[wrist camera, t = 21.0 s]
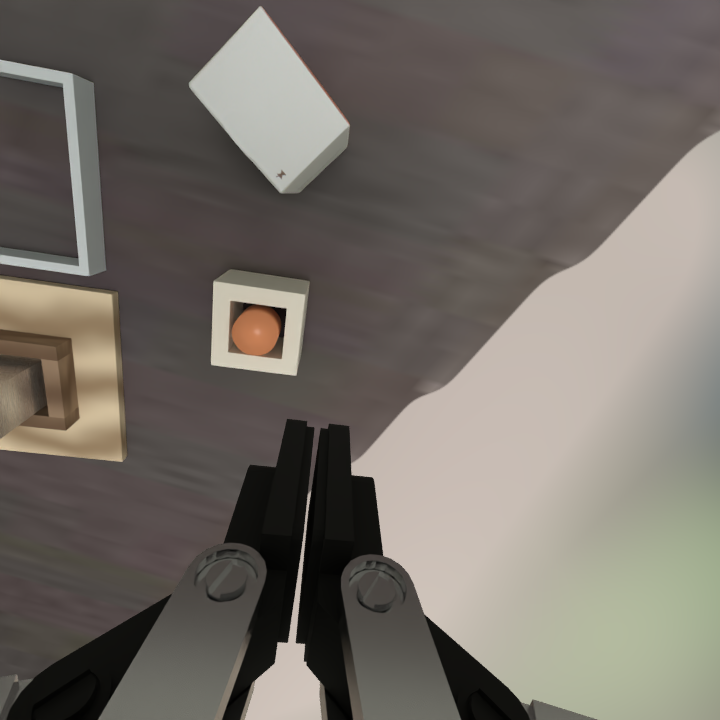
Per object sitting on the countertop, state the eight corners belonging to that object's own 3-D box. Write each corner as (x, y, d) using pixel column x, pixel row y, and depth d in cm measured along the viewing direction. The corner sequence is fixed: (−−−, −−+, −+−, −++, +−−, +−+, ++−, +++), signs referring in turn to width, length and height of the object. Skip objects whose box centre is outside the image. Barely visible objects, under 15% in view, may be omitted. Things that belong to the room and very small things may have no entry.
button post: (230, 269, 41) (213, 281, 36) (309, 281, 42) (305, 294, 37) (226, 343, 44) (211, 364, 39) (301, 352, 45) (296, 375, 40)
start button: (240, 301, 39) (232, 310, 36) (283, 307, 39) (279, 316, 36) (238, 341, 40) (230, 352, 37) (279, 346, 40) (275, 358, 38)
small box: (348, 146, 38) (353, 126, 26) (298, 195, 39) (280, 197, 27) (286, 65, 35) (259, 0, 23) (234, 120, 37) (183, 85, 25)
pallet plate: (-77, 264, 40) (-117, 271, 36) (117, 291, 42) (98, 300, 38) (-37, 438, 47) (-67, 458, 44) (127, 455, 49) (111, 475, 46)
